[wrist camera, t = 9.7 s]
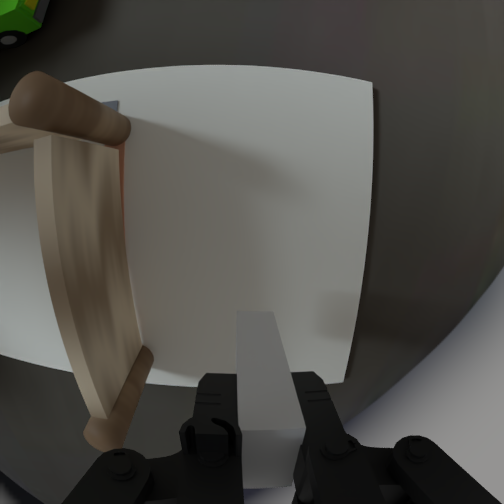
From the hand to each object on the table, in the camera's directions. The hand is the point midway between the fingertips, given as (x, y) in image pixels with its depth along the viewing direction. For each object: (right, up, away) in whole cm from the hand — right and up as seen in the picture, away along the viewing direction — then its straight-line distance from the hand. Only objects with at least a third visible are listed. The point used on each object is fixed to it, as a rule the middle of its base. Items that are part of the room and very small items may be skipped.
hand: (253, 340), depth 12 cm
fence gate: (-7, +3, +3) cm, 8 cm away
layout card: (-8, +5, +4) cm, 9 cm away
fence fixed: (-13, +10, +2) cm, 17 cm away
